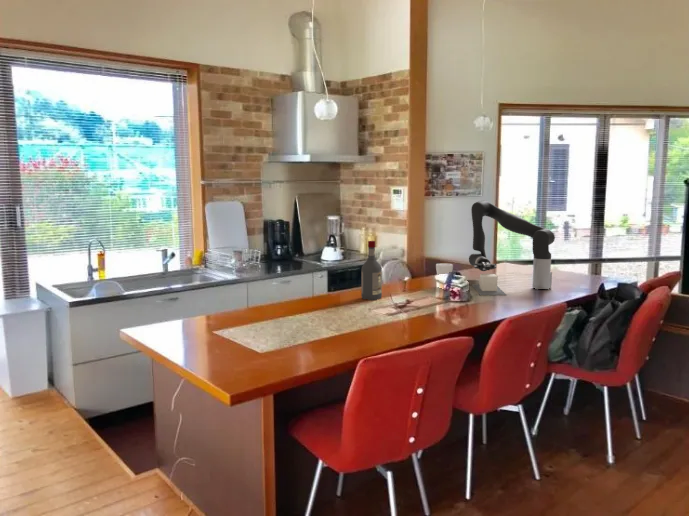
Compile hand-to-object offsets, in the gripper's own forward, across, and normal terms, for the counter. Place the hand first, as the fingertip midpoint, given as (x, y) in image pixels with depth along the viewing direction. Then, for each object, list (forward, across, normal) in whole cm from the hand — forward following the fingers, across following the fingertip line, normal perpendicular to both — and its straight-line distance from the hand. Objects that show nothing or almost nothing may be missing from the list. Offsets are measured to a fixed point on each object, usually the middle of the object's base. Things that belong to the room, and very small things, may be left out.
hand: (488, 268), depth 324 cm
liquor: (+24, -64, +12) cm, 70 cm away
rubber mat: (+2, 0, +12) cm, 12 cm away
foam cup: (-7, -23, +12) cm, 27 cm away
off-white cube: (-2, 0, +8) cm, 8 cm away
